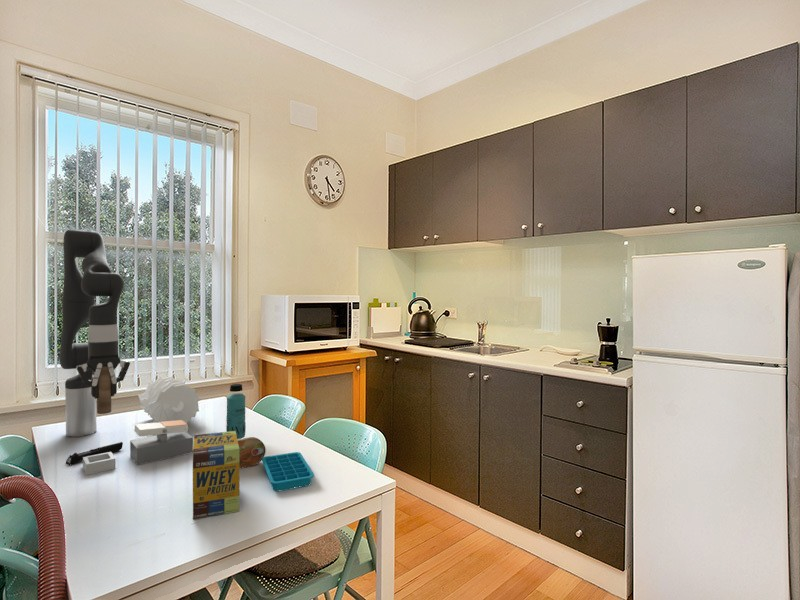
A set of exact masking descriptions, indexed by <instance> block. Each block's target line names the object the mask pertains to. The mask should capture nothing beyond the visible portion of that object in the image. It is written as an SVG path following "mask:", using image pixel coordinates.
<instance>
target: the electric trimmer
mask: <svg viewBox="0 0 800 600" xmlns="http://www.w3.org/2000/svg"><path fill="white" fill-rule="evenodd" d="M123 444H124V443H123V442H122V441H119V442H116V443H112V444H109V445H104V446H99V447H97V448H93V449H92V448H91V449H89V450H87V451H84V452H79V453H78V452H74V453H73V454H70V455H68V457H67V458H66V460H65V464H66V465H68V466H74V465H75V464H76V463H80V462H83V457H87V456H92V455H97V454H102V453H107V452H112V454H113V453H115V452H118V451H120V450H121V449H123Z"/></svg>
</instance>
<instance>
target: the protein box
mask: <svg viewBox="0 0 800 600" xmlns="http://www.w3.org/2000/svg"><path fill="white" fill-rule="evenodd" d="M239 460H240V456H239V445H238V440H237V435H236V431H229V432H227V431H222V432H210V433H201V434H194V436H193V453H192V520H198V519H203V518H204V519H205V518H208V517H214V516H219V515H226V514H231V513H232V514H233V513H238V512H240V469H239Z"/></svg>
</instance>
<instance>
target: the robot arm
mask: <svg viewBox="0 0 800 600" xmlns="http://www.w3.org/2000/svg"><path fill="white" fill-rule="evenodd" d="M62 242H63V245H62V246H63V247H62V248H63V269H64V270H63V272H64V275H63V290H62V291H63V292H62V307H61V308H62V327H61V328H62V330H61V340H60V347H59V349H60V350H59V365H60V367H61V368H62V369H64V370H75V369H76V371H77V372H78V374H77V375H74V376H71V377H69V378H67V379H66V380H65V382H64V386H65V387H64V389H65V391H64V392H65V395H64V397H65V435H66V437H82V436H88V435H91V434H93V433H96V432H97V398H98V386H97V382H98V378H99V375H100V371H101V368H102V367H104V366H108V368H109V372H110V376H111V398H112V397H115V395H116V394H117V392H118V391H117V390H118V389H117V387H118V386H117V385H118V383H119V382H123V381H124V379H125V378H126V375H127V372H128V369H129V367H130V365H131V361H130V362H129V361H128V360H122V359H121V358H120V357H119V355H120V354H119V338H120V337H119V328H118V308H119V307H118V306H119V303H120V299H121V295H122V292H123V290H124V285H125V282H124V281H125V280H124V279H123V277H122V276H121V274H120V273H117V272H112V270H111V267H110V265H109V263H108V261H107V251H106V245H105V241H104V237H103V236H102V234H101V233H100V232H97V231H93V230H80V229H79V230H78V229H67V230H65V232H64V234H63V241H62ZM77 258H78V259H79V258H80V259H82V258H83V260H82V261H81V270H82V272H81V270H80V268H79V267H78V265H77V262H76V261H77V260H76V259H77ZM82 273H83V274H82ZM96 297H108V298H107V301H105V302H103V303H97V304H95V301H96ZM87 322H88V331H87V342H74V341H75V338H76V336H77V334H78V333H79V331H80V330H81V329H82V327H84V325H85V324H86V323H87ZM73 342H74V343H73ZM119 365H120V367H121V368H120V371H119V373H118V376H117V377H116V372H115V369H116V368H117V367H118V366H119Z"/></svg>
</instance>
